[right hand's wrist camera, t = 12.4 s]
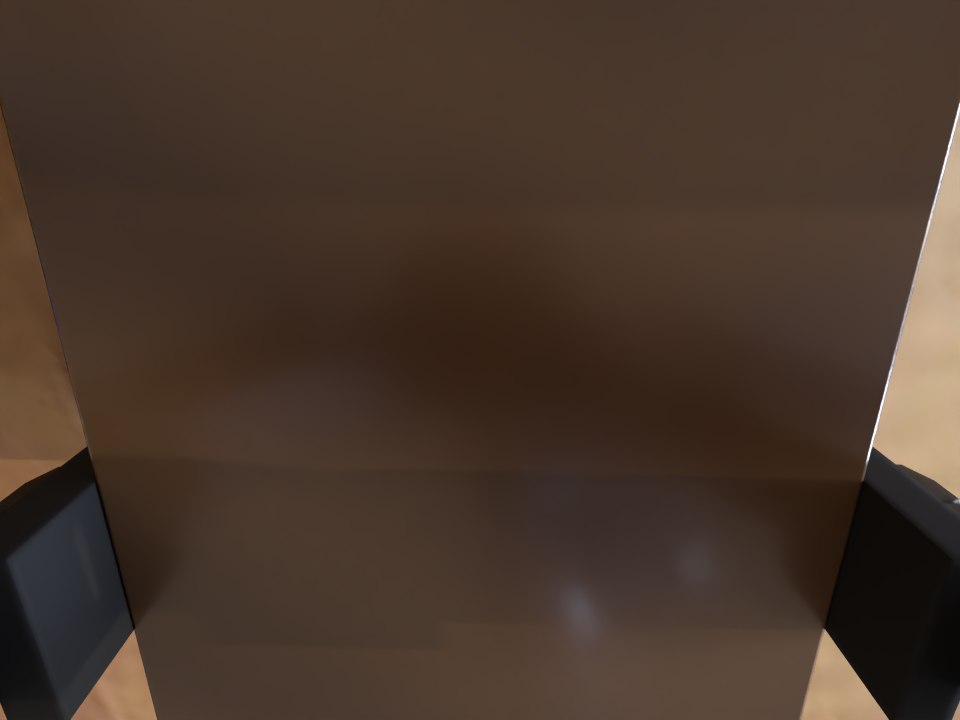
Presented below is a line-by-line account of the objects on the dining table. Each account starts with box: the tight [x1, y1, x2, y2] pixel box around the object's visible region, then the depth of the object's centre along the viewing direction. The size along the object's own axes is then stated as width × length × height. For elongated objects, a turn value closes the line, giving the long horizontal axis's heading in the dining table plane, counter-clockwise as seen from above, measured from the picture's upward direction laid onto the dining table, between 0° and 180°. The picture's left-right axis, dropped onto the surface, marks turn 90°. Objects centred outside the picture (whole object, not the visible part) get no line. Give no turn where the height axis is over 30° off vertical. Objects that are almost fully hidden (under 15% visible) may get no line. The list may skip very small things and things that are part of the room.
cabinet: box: [0, 0, 960, 720], centre depth 12 cm, size 17×11×10 cm, turn 0°
